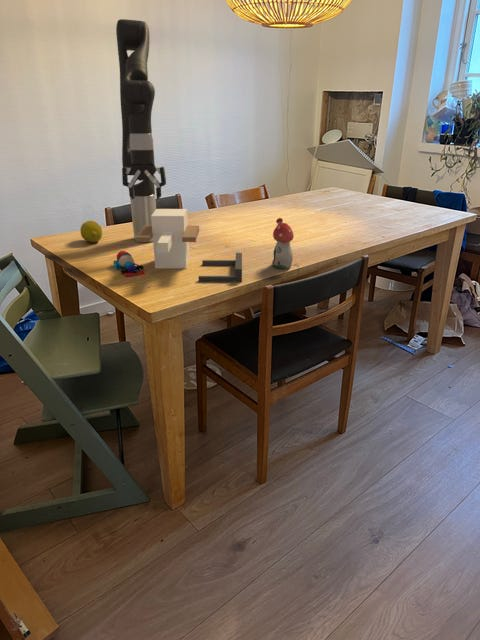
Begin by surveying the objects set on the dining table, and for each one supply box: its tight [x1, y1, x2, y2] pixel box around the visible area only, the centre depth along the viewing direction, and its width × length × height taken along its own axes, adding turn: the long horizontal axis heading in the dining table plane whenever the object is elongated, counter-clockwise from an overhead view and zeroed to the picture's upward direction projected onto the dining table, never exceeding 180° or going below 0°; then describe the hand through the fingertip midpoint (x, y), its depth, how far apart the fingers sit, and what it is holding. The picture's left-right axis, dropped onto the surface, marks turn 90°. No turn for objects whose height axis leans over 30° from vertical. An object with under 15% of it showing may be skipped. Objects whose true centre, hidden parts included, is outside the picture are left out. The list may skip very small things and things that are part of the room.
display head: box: [135, 208, 200, 269], centre depth 149 cm, size 22×18×17 cm
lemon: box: [80, 220, 103, 244], centre depth 180 cm, size 11×8×8 cm
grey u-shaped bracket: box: [198, 252, 243, 283], centre depth 149 cm, size 13×16×4 cm
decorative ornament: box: [271, 217, 294, 270], centre depth 153 cm, size 9×7×15 cm
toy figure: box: [113, 250, 146, 278], centre depth 153 cm, size 8×5×15 cm
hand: (145, 198), depth 162 cm, fingers open, 8 cm apart
